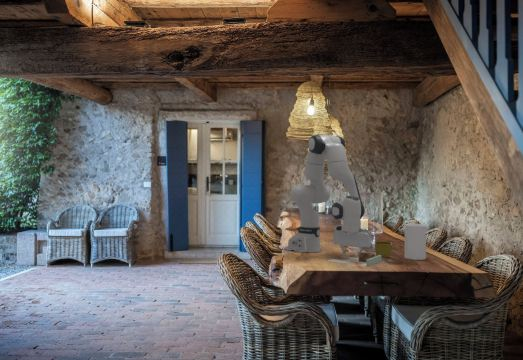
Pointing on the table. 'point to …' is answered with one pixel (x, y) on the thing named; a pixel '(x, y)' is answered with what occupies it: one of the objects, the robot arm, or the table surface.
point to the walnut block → (365, 256)
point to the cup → (415, 241)
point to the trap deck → (367, 263)
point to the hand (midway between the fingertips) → (351, 254)
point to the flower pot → (383, 249)
